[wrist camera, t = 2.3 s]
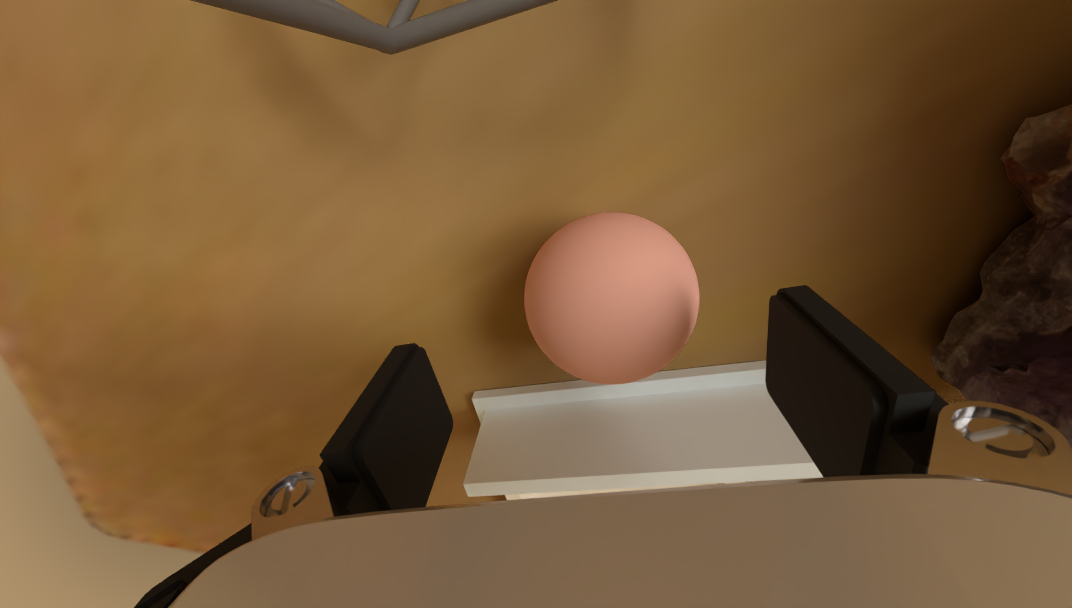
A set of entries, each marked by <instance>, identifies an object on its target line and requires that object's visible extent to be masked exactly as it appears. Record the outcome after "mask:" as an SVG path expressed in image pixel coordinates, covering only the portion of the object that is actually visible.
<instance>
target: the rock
mask: <svg viewBox="0 0 1072 608" xmlns="http://www.w3.org/2000/svg"><path fill="white" fill-rule="evenodd" d="M1000 160H1001V161H1002V162H1003V163H1004V164H1005V165H1006V172H1007V176H1008V180H1009V182H1011V183H1012V184H1013V185H1014V186H1016V187H1017V188H1018V189H1019V190H1021V191H1022V192H1023V194H1022V195H1021V196H1020V197H1019V198H1020V199H1021V200H1022V201H1023V202H1024V204H1025V205H1026V206H1027V207H1028V208H1029V210H1030V211H1031V212H1032V214H1033V215H1034V216H1035V217H1033V218H1032V219H1030V220H1029V221H1027V222H1025V223H1024V224H1022V225H1021V226H1019V227H1018V228H1016V229H1014V230H1013V231H1012V232H1011V233H1010V235H1009V236H1008V237H1007V238H1006V239H1005V240H1004V242H1003V243H1002V244H1001V245H1000V246H999V247H998V248H997V250H995V252H994V253H993V254H992V255H991V256H990V257H989V258H988V259H987V260H986V261H985V263H984V265H983V267H982V269H981V271H980V277H981V282H982V288H983V292H982V294H981V296H980V298H979V300H978V301H976V302H974V303H973V304H971V305H970V306H968V307H966V308H965V309H963V310H961V311H960V312H958V313H956V314H955V315H954V317H953V319H952V320H951V322H950V324H949V327H948V330H947V332H946V335H945V337H944V340H943V342H942V343H940V344H939V345H938V346H936V347H935V348H934V349H932V350H931V363H932V365H933V366H934V368H935V370H936V371H937V373H938V375H939V377H940V378H941V379H943V380H945V381H947V382H948V383H950V384H951V385H953V386H955V387H956V388H958V389H959V390H961V392H962V393H963V395H964V396H965V398H966V399H967V401H985V402H991V403H996V404H1002V405H1005V406H1008V407H1012V408H1015V409H1018V410H1022V411H1024V412H1026V413H1028V414H1031V415H1033V416H1035V417H1037V418H1040V419H1041V420H1043V421H1045V422H1046V423H1048V424H1049V425H1051V426H1053V427H1054V428H1056V429H1057V430H1058V431H1059V432H1060V433H1061V434H1062V435H1063V436H1064V437H1065V438H1066V439H1067V441H1068V443H1069V445H1070V447H1071V449H1072V104H1071V105H1068V106H1066V107H1063V108H1060V109H1058V110H1055V111H1052V112H1049V113H1046V114H1043V115H1040V116H1037V117H1030V118H1026V119H1025V120H1024V122H1023V123H1022V125H1021V126H1020V128H1019V129H1018V131H1017V132H1016V134H1015V135H1014V138H1013V141H1012V144H1011V145H1010V146H1009V148H1008V149H1007V150H1006V151H1005V153H1004V154H1003V155H1002V156H1001V158H1000Z"/></svg>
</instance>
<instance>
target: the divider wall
mask: <svg viewBox="0 0 1072 608" xmlns="http://www.w3.org/2000/svg"><path fill="white" fill-rule="evenodd" d="M765 377H766V360H764V361H755V362H745V363H736V364H727V365H717V366H708V367H698V368H689V369H680V370H670V371H661V372H656V373H655V374H653V375H651V376H649V377H646V378H644V379H641V380H638V381H634V382H631V383H625V384H613V385H609V384H598V383H592V382H589V381H585V380H576V381H567V382H558V383H548V384H539V385H529V386H520V387H511V388H501V389H492V390H482V391H474V394H473V397H472V402H473V404H474V407H475V410H476V413H477V415H478V418H479V421H480V423H481V426H480V429H479V432H478V436H477V439H476V442H475V446H474V449H473V452H472V456H471V459H470V462H469V465H468V469H467V472H466V475H465V479H464V482H463V486H464V488H465V490H466V493H467V495H468V497H474V496H492V495H511V494H529V493H547V492H565V491H583V490H602V489H620V488H638V487H656V486H675V485H693V484H711V483H729V482H747V481H766V480H784V479H802V478H820V477H823V476H822V474H821V473H820V471H819V470H818V468H817V467H816V465H815V464H814V462H813V461H812V459H811V457H810V456H809V454H808V453H807V451H806V450H805V448H804V447H803V445H802V444H801V442H800V441H799V439H798V438H797V436H796V435H795V433H794V432H793V430H792V429H791V427H790V426H789V424H788V423H787V421H786V419H785V418H784V416H783V415H782V413H781V412H780V410H779V409H778V407H777V406H776V404H775V403H774V401H773V400H772V398H771V397H770V395H769V393H768V391H767V388H766V383H765Z"/></svg>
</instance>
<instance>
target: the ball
mask: <svg viewBox="0 0 1072 608" xmlns="http://www.w3.org/2000/svg"><path fill="white" fill-rule="evenodd" d="M524 307H525V313H526V318H527V322H528V325H529V328H530V331H531V333H532V335H533V337H534V339H535V341H536V343H537V344H538V346H539V347H540V349H541V350H542V351H543V352H544V353H545V355H546V356H547V357H548V358H549V359H550V360H551V361H552V362H553V363H554V364H555V365H557V366H558V367H559V368H561V369H562V370H564V371H565V372H567V373H569V374H571V375H573V376H575V377H577V378H580V379H582V380H585V381H589V382H592V383H598V384H609V385H613V384H625V383H631V382H634V381H638V380H641V379H644V378H646V377H649V376H651V375H653V374H655V373H656V372H658V371H659V370H661V369H662V368H664V367H665V366H666V365H667V364H669V363H670V362H671V361H672V360H673V359H674V358H675V357H676V356H677V355H678V354H679V353H680V352H681V350H682V349H683V348H684V346H685V345H686V343H687V341H688V339H689V338H690V336H691V334H692V332H693V329H694V326H695V324H696V320H697V315H698V310H699V288H698V280H697V276H696V273H695V270H694V267H693V265H692V263H691V261H690V259H689V256H688V255H687V253H686V252H685V250H684V249H683V247H682V246H681V245H680V244H679V243H678V242H677V240H676V239H675V238H674V237H673V236H672V235H671V234H670V233H668V232H667V231H666V230H665V229H663V228H662V227H660V226H659V225H657V224H655V223H654V222H651V221H649V220H647V219H644V218H642V217H639V216H636V215H632V214H627V213H620V212H604V213H596V214H592V215H588V216H584V217H582V218H579V219H576V220H574V221H572V222H570V223H569V224H567V225H565V226H564V227H562V228H561V229H559V230H558V231H557V232H555V233H554V234H553V235H552V236H551V237H550V238H549V239H548V240H547V241H546V242H545V243H544V245H543V246H542V247H541V248H540V250H539V251H538V253H537V255H536V256H535V258H534V260H533V262H532V264H531V267H530V269H529V271H528V275H527V279H526V284H525V292H524Z"/></svg>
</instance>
